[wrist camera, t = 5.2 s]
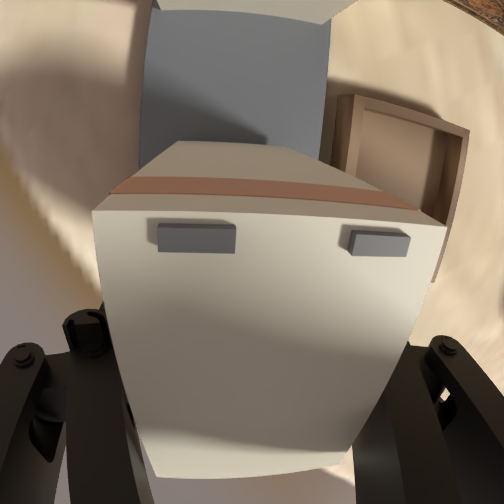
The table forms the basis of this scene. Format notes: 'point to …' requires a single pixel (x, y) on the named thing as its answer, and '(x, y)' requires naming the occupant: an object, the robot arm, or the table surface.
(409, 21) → the table surface
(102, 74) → the table surface
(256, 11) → the pad
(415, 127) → the tray
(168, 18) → the board
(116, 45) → the table surface
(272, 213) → the stub
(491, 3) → the book
